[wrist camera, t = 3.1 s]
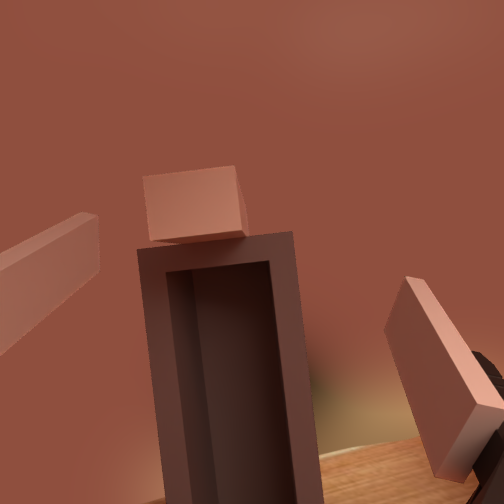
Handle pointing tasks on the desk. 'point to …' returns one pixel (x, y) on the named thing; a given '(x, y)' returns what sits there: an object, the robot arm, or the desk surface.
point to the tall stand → (230, 372)
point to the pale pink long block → (195, 206)
